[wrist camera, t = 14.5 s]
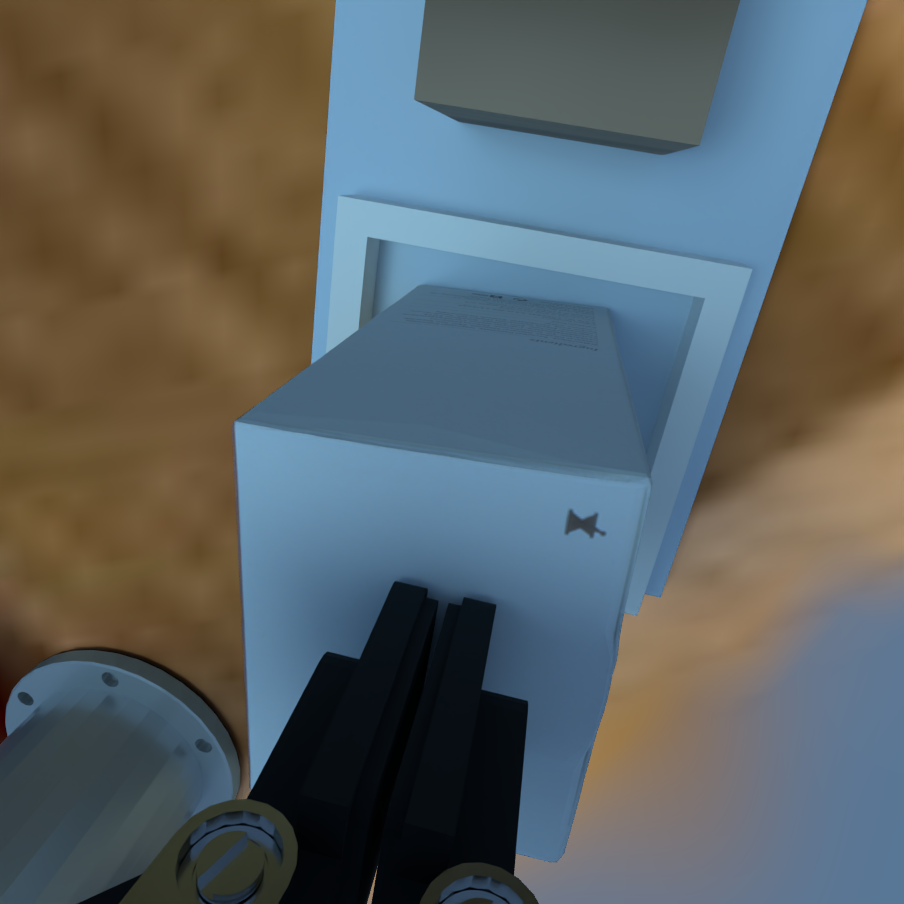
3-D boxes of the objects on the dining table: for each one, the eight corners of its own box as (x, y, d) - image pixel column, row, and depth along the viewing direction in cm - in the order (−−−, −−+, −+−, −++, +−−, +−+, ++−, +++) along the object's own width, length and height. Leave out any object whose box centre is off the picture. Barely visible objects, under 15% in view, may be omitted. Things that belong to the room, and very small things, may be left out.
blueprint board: (655, 575, 26) (665, 622, 23) (314, 498, 27) (285, 535, 24) (895, -136, 17) (958, -198, 14) (368, -198, 18) (331, -265, 15)
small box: (416, 281, 21) (221, 409, 9) (613, 305, 21) (669, 476, 9) (401, 500, 25) (242, 801, 13) (571, 528, 24) (570, 874, 12)
